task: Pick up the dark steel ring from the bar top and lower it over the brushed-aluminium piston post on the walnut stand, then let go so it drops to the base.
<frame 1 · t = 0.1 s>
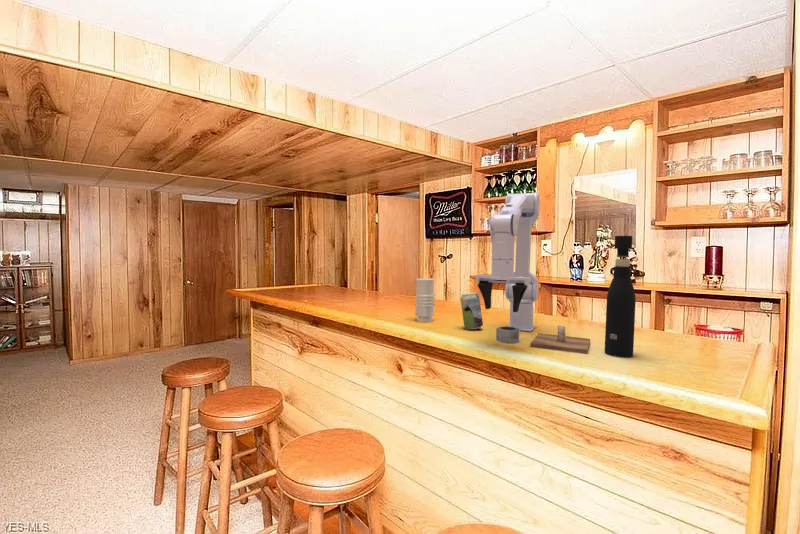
hand: (501, 310, 106), 10 cm above the table, fingers open, 7 cm apart
grey ribbed cylinder: (424, 321, 143), on the table
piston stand: (560, 344, 110), on the table
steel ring: (507, 340, 114), on the table
beverage can: (471, 329, 129), on the table
black water bottle: (618, 354, 101), on the table
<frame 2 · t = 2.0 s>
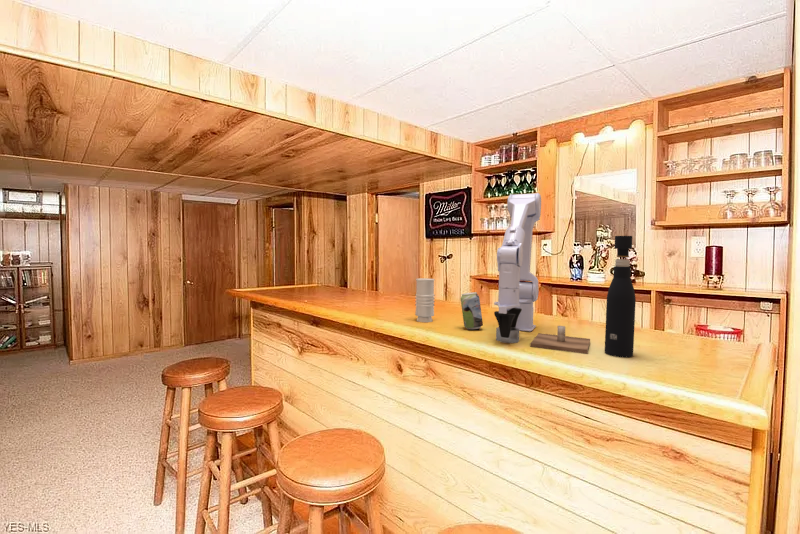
hand: (507, 334, 114), 2 cm above the table, fingers closed on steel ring, 6 cm apart
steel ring: (507, 340, 114), on the table, touching gripper
everything else where it was.
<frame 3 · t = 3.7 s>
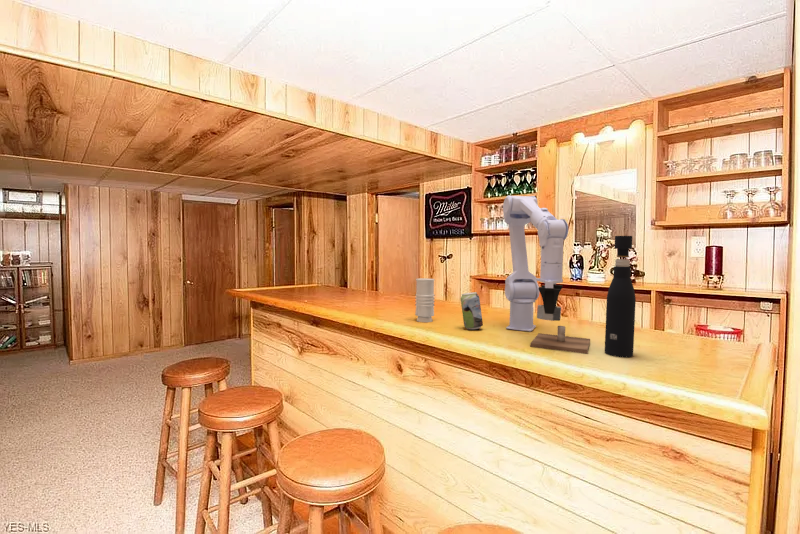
hand: (550, 311, 110), 9 cm above the table, fingers closed on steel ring, 6 cm apart
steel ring: (548, 318, 110), point 7 cm above the table, touching gripper
everything else where it was.
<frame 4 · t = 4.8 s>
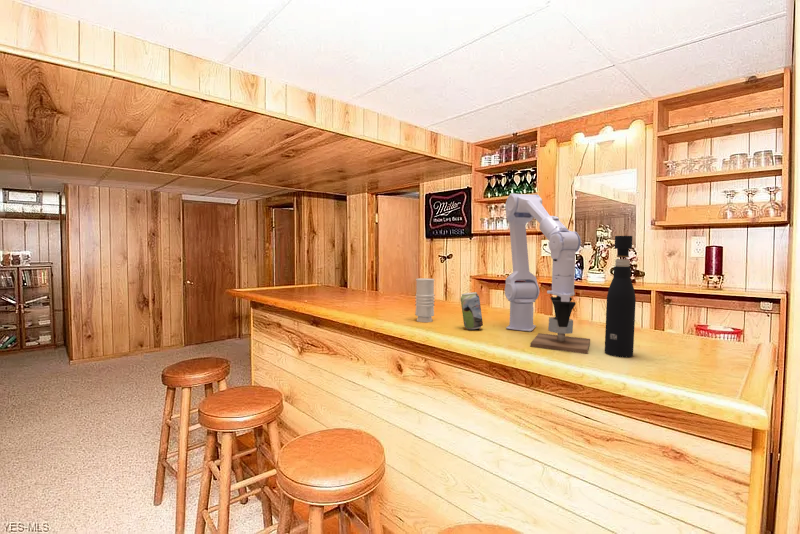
hand: (561, 324, 110), 6 cm above the table, fingers closed on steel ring, 6 cm apart
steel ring: (560, 331, 110), point 4 cm above the table, touching gripper
everything else where it was.
when the fingers open (6 cm above the table, at t = 5.7 s): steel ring drops 3 cm, resting on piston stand.
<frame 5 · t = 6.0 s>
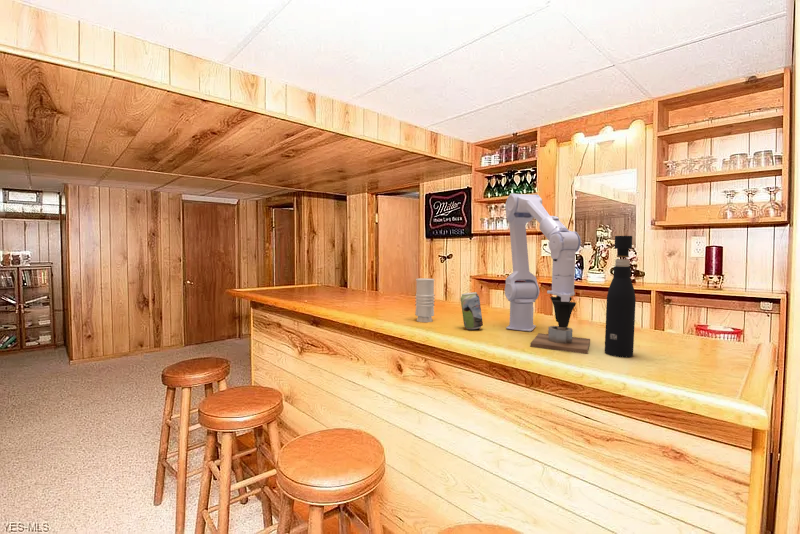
hand: (561, 324, 110), 6 cm above the table, fingers open, 7 cm apart
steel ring: (559, 340, 110), point 1 cm above the table, touching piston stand
everything else where it was.
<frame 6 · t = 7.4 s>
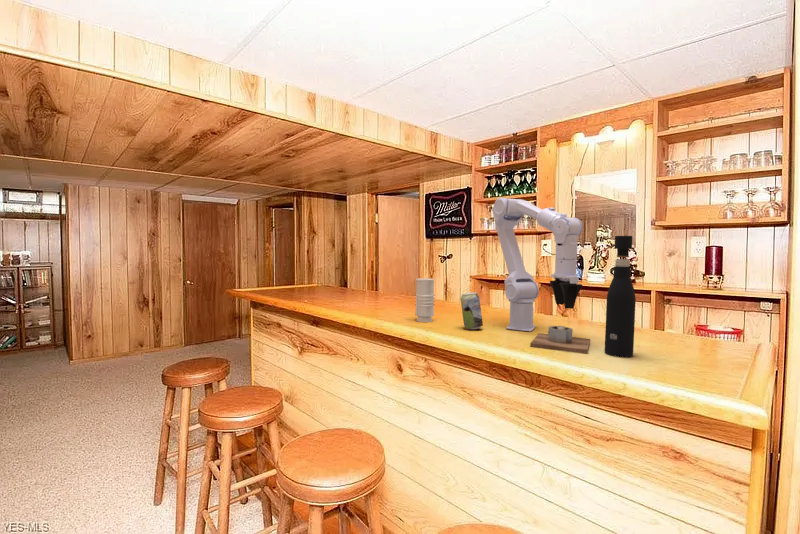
hand: (564, 306, 115), 10 cm above the table, fingers open, 7 cm apart
nothing on the table moved.
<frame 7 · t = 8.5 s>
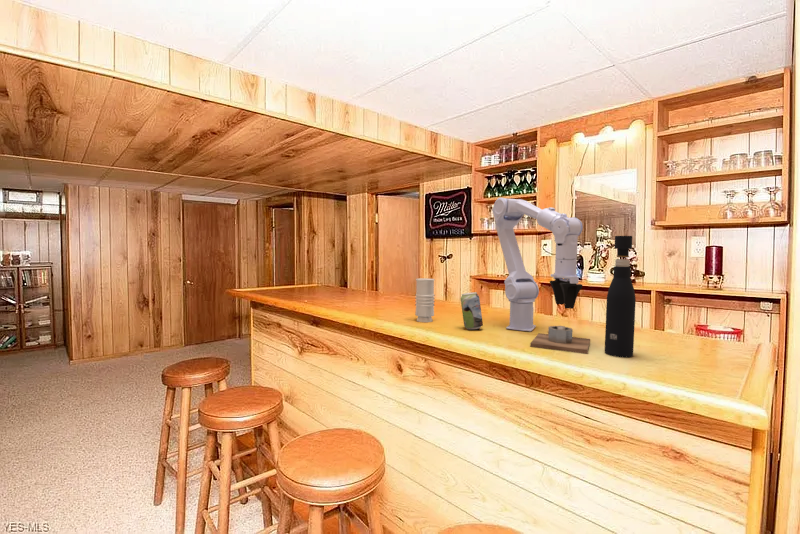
hand: (564, 306, 115), 10 cm above the table, fingers open, 7 cm apart
nothing on the table moved.
at the end: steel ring 0.3 cm off-centre on the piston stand, point 1.0 cm above the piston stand's base; the gripper is holding nothing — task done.
